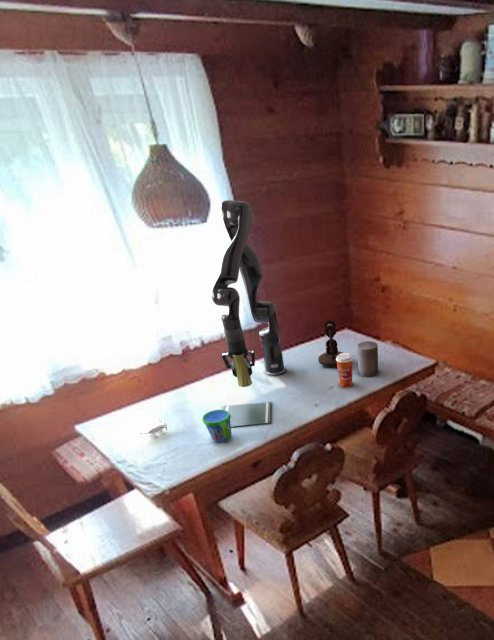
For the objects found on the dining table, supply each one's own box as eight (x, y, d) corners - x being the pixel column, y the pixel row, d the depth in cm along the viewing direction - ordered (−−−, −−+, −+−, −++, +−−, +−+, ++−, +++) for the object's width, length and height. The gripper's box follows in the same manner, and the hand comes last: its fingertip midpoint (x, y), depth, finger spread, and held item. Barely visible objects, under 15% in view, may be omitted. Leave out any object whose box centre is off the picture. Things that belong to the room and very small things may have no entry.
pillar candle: (382, 370, 248) (381, 340, 239) (371, 378, 242) (370, 348, 232) (365, 366, 253) (364, 336, 243) (354, 374, 246) (352, 343, 237)
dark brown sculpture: (318, 357, 262) (314, 318, 249) (347, 355, 263) (344, 316, 250) (318, 369, 251) (314, 329, 238) (348, 367, 252) (345, 327, 239)
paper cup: (335, 387, 236) (332, 358, 227) (342, 380, 242) (340, 351, 233) (350, 389, 234) (348, 360, 225) (357, 382, 239) (355, 354, 230)
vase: (235, 385, 223) (227, 354, 214) (244, 379, 227) (237, 348, 218) (246, 388, 221) (239, 357, 212) (255, 382, 225) (248, 351, 216)
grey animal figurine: (165, 427, 212) (161, 417, 209) (172, 431, 209) (169, 421, 206) (139, 439, 205) (135, 429, 202) (146, 444, 202) (142, 434, 199)
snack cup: (203, 433, 208) (196, 411, 201) (228, 426, 212) (222, 404, 205) (215, 451, 198) (208, 428, 191) (241, 443, 202) (235, 420, 195)
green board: (224, 407, 224) (224, 406, 224) (270, 403, 226) (270, 402, 226) (221, 428, 211) (221, 427, 210) (270, 423, 213) (269, 422, 212)
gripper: (252, 332, 214) (260, 370, 225) (217, 335, 212) (227, 373, 224) (251, 339, 208) (259, 378, 219) (216, 342, 207) (225, 381, 218)
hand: (243, 375), depth 221 cm, fingers closed on vase, 5 cm apart
